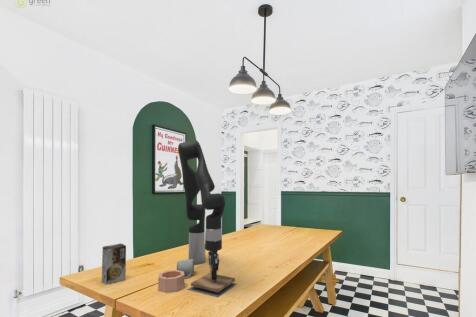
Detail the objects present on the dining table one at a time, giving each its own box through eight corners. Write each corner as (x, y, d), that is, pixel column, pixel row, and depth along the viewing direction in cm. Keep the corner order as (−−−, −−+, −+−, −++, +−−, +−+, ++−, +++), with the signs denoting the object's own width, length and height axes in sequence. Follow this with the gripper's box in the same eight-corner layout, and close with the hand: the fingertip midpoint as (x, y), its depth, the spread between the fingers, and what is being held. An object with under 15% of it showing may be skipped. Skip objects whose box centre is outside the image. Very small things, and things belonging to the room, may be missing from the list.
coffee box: (120, 276, 134) (121, 243, 135) (125, 279, 129) (126, 245, 130) (100, 281, 127) (102, 246, 129) (105, 284, 123) (107, 248, 124)
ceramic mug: (177, 273, 138) (178, 257, 138) (194, 272, 139) (194, 257, 139) (175, 281, 127) (175, 264, 128) (192, 280, 128) (193, 263, 129)
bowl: (170, 281, 126) (170, 268, 126) (189, 286, 121) (189, 272, 121) (152, 290, 116) (153, 276, 117) (171, 295, 111) (172, 280, 111)
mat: (208, 279, 129) (208, 277, 129) (237, 285, 122) (237, 283, 122) (186, 291, 115) (186, 289, 115) (218, 298, 108) (218, 297, 108)
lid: (209, 275, 128) (209, 260, 129) (234, 280, 122) (234, 264, 122) (190, 285, 116) (191, 268, 117) (218, 292, 110) (218, 274, 110)
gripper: (202, 235, 126) (202, 273, 125) (207, 242, 113) (207, 285, 111) (218, 234, 128) (218, 271, 127) (225, 241, 115) (225, 283, 113)
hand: (213, 277), depth 119 cm, fingers closed on lid, 2 cm apart
